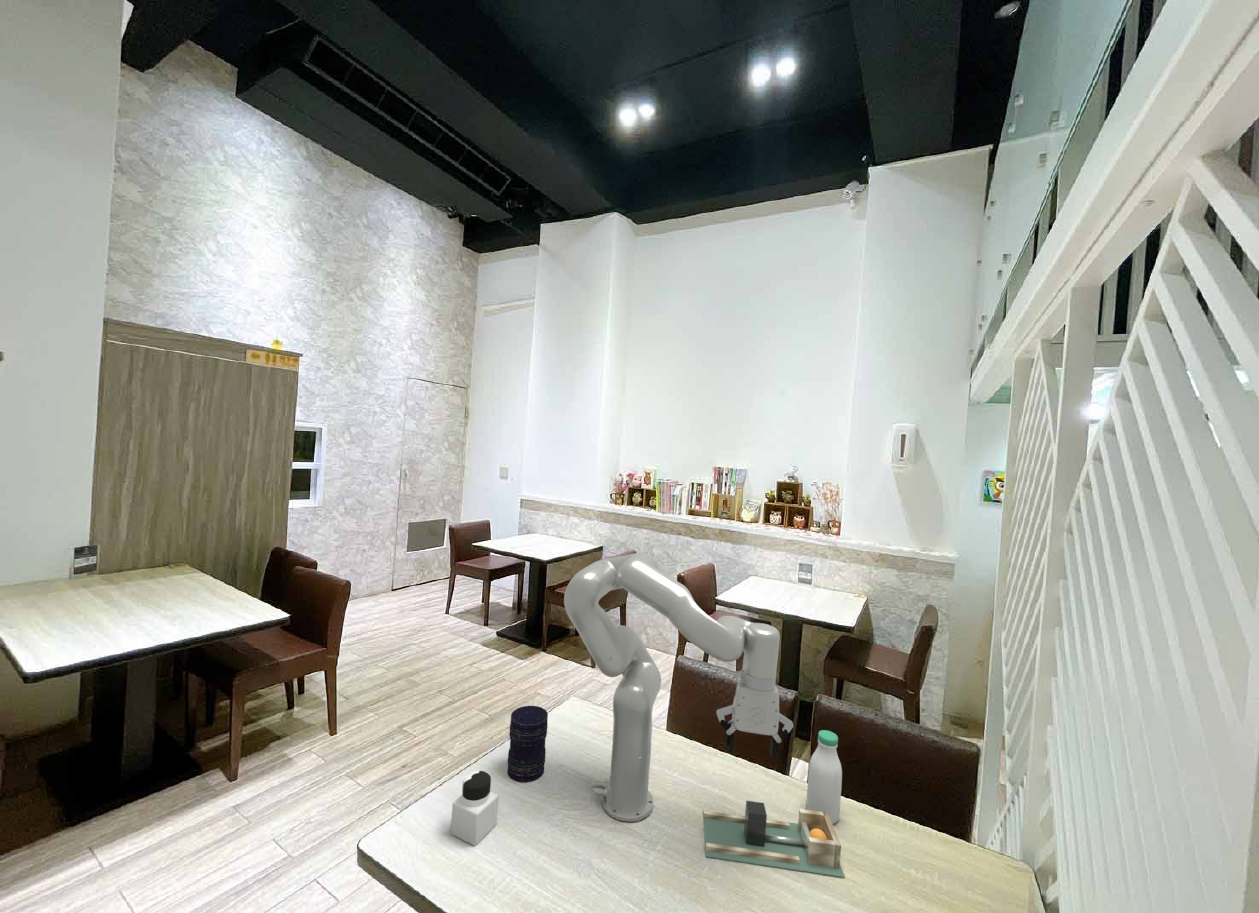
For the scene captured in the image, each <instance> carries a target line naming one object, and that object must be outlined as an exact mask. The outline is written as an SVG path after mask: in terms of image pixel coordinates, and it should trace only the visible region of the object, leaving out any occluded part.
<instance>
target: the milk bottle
mask: <svg viewBox="0 0 1259 913" xmlns="http://www.w3.org/2000/svg"><path fill="white" fill-rule="evenodd" d="M838 744H839V737H838V735H837V733H834V732H832V731H831V730H825V729H823V730H819V731H818V733H817V747H816V748H815V751H814V752H813V754H812V755H811V757H810V761H809V766H808V776H807V788H806V789H807V790H806V800H805V802H806V803H805V810H813V811H820V812H827V813H828V814H829V817H830V819H831V822H832V824H833V825H834V824H837V823H838V821H839V819H840V812H841V811H840V810H841V796H842V787H843V786H842V785H843V784H842V783H843V769H842V763H841V761H840V759H839V756H838V751H837V748H838Z"/></svg>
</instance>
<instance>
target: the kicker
mask: <svg viewBox="0 0 1259 913" xmlns="http://www.w3.org/2000/svg"><path fill="white" fill-rule="evenodd" d="M745 802H746V803H745V814H744V816H745V825H744V832H745V839H746V844H752V845H759V846H765V840H766V841H773V842H780V843H786V844H793V845H800V846H804V848H805V851H806V854H807V852H808V839H809V837H811V836H810V833H809V830H808V827H807V824H806V822H802V823H801V838H802V839H797V838H790V837H783V836H776V835H769V834H765V833H766V819H767V817H768V816H767V812H766V807H765V806H766V805H765V803H764V802H759V801H752V800H745Z"/></svg>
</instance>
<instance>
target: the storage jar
mask: <svg viewBox="0 0 1259 913" xmlns="http://www.w3.org/2000/svg"><path fill="white" fill-rule="evenodd" d="M548 718H549V713H548V711H547V710H546V709H545V708H543V707H541V706H537V705H523V706H520V707H517V708H516V709H514V710H512V712H511V714H510V723H509V734H508V735H509V749H508V751H507V752H508V754H507V776H508V778H509V779H510V780H512V781H513V782H517V783H521V784H524V783H525V784H526V783H531V782H532V783H533V782H535V781H537V780H539V779H540V778H541V777H542V776H543V775H544V773H545V764H546V757H547V756H546V754H547V752H546V737H547V735H548V724H549V723H548Z"/></svg>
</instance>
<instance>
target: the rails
mask: <svg viewBox="0 0 1259 913" xmlns="http://www.w3.org/2000/svg"><path fill="white" fill-rule="evenodd" d="M710 811H711V810H705V811H704V816H703V819H704V818H709V819H716V820H723V821H730V822H737V823H744V824H745V815H740V816H738V815H739V814H733V815H731V813H726V814H724V812H719V813H717V811H712V812H710ZM788 822H789V821H783V822H781V821H780V820H776V821H774V819H769V820H767V819H766V827H772V828H780V829H787V830H789V829H790V825H789V823H788ZM706 851H711V852H718V853H725V854H732V855H738V856H745V857H752V858H758V859H765V860H772V861H778V862H785V863H792V864H799V862H800V860H799V856H793V855H786V854H779V853H773V852H766V851H759V850H752V849H746V848H739V847H732V846H725V845H718V844H712V843H706V850H705V852H706Z"/></svg>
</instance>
